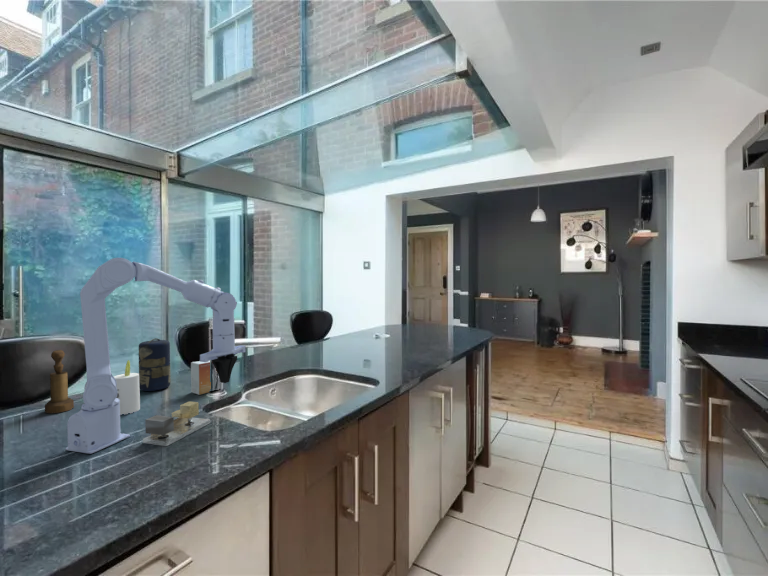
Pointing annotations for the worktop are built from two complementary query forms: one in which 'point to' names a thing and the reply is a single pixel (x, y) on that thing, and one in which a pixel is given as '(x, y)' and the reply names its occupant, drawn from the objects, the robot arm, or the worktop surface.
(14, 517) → the worktop surface
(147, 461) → the worktop surface
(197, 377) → the small box
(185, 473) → the worktop surface
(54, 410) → the brown tall knobbed cylinder
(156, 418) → the grey blocky hammer
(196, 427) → the bolt plate
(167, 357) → the canister
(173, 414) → the sliding leg
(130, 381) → the candle
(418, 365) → the worktop surface
